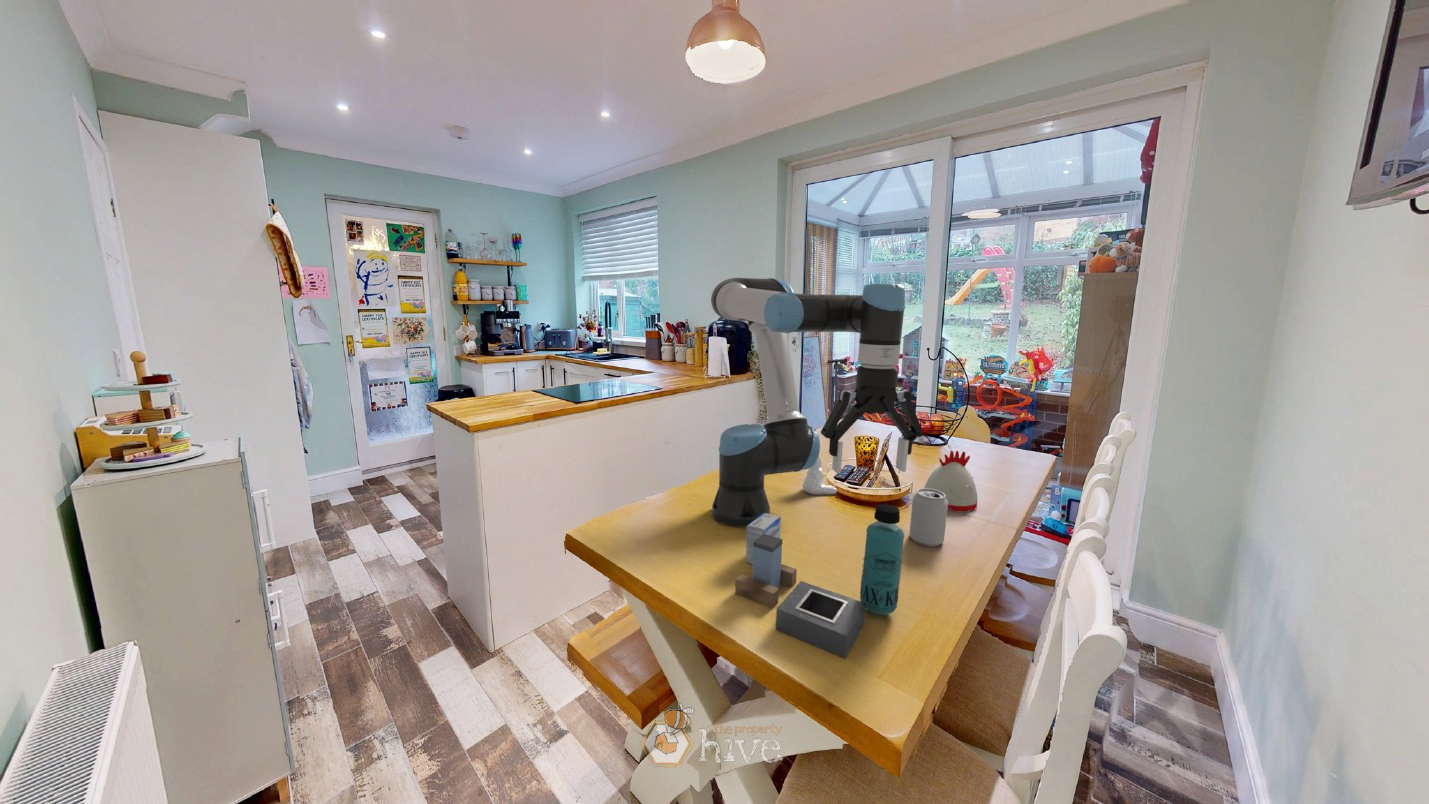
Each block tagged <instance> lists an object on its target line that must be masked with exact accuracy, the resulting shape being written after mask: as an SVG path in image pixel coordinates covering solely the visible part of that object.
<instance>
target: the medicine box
mask: <svg viewBox="0 0 1429 804" xmlns="http://www.w3.org/2000/svg"><path fill="white" fill-rule="evenodd" d="M781 520H782V519H781V517H780V516H778V515H775V514H771V513H770V514H767V513H763V514H762V515H760V516H759V517H758V518H757V519H755V520H754V521H753V522H751V523H750V524H749V525H747V527H746V541H745V543H746V550H745V551H746V552H745V553H746V555H745V557H746V558H745V561H746V563H748V564H751V565H753V547H754V546H753V542H754V541H755V540H756V539H758V538H759V537H760V536H761V535H762V534H766V535H770V536H773V537H776V538H780V539H781Z"/></svg>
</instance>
